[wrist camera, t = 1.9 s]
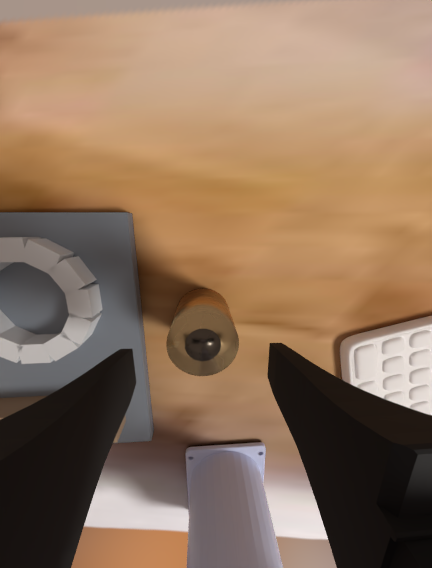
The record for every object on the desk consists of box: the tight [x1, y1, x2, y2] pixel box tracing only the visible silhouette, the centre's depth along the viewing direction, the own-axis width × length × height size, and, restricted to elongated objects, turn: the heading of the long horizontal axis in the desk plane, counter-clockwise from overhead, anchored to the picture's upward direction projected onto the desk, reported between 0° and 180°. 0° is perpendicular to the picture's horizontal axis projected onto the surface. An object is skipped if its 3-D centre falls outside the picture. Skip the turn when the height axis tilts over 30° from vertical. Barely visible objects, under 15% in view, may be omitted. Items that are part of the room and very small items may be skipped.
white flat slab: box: [340, 315, 432, 415], centre depth 21 cm, size 13×20×2 cm, turn 14°
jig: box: [0, 212, 154, 443], centre depth 16 cm, size 20×14×3 cm
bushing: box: [167, 288, 239, 376], centre depth 15 cm, size 4×4×5 cm
